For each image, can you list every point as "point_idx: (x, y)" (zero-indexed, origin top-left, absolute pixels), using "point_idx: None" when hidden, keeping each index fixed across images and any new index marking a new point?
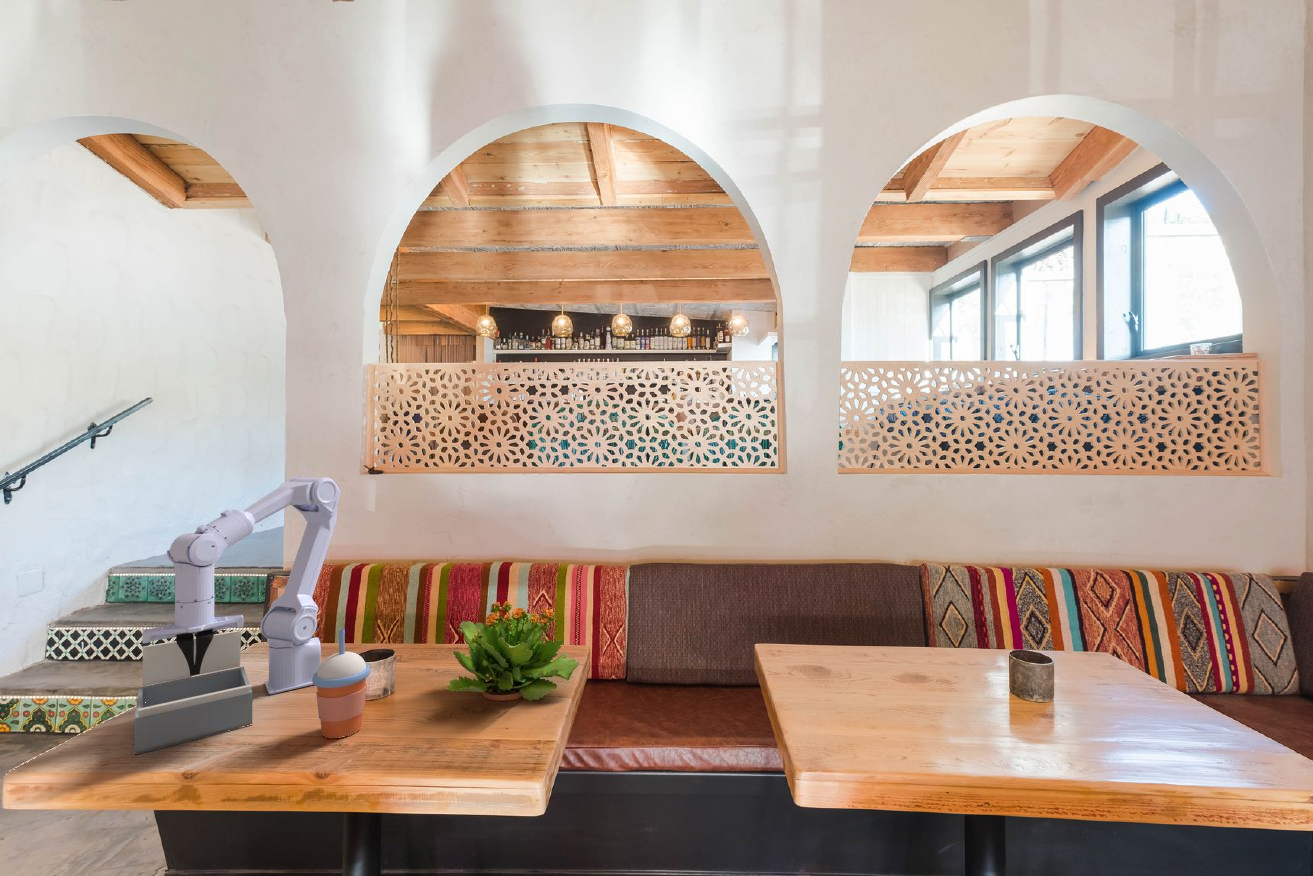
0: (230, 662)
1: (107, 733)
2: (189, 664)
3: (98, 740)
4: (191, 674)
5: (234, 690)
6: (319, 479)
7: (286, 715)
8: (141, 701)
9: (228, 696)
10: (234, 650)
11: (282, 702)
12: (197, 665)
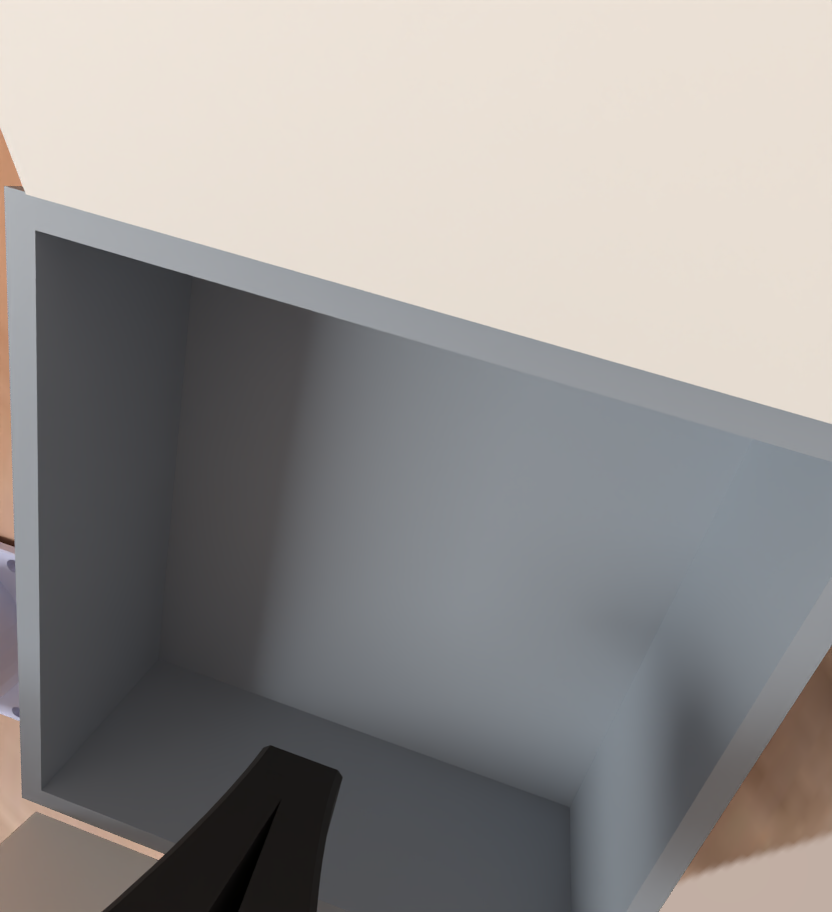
0: (53, 870)
1: (738, 795)
2: (303, 893)
3: (808, 753)
4: (328, 777)
5: None
6: None
7: (7, 167)
8: (677, 812)
9: (177, 128)
10: None
11: (6, 403)
12: (236, 831)
